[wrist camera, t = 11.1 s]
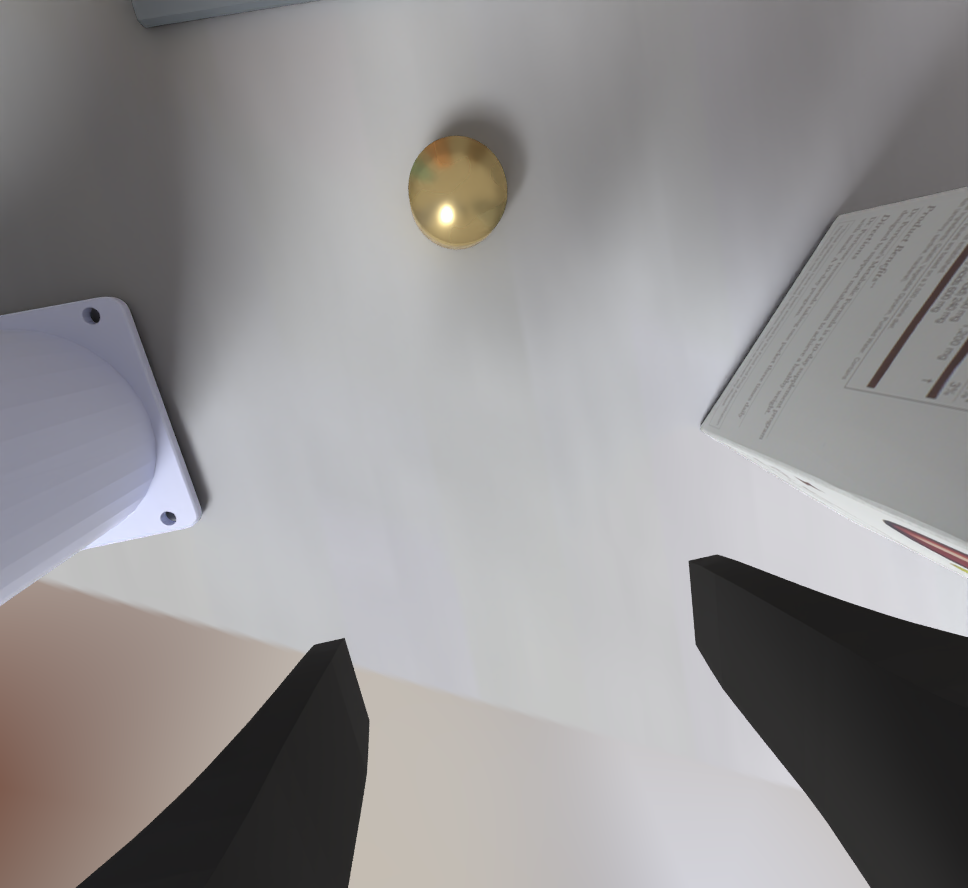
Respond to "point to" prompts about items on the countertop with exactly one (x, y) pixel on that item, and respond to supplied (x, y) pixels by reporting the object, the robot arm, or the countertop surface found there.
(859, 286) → the supplement box
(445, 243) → the brass token
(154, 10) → the slate mat
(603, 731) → the countertop surface
